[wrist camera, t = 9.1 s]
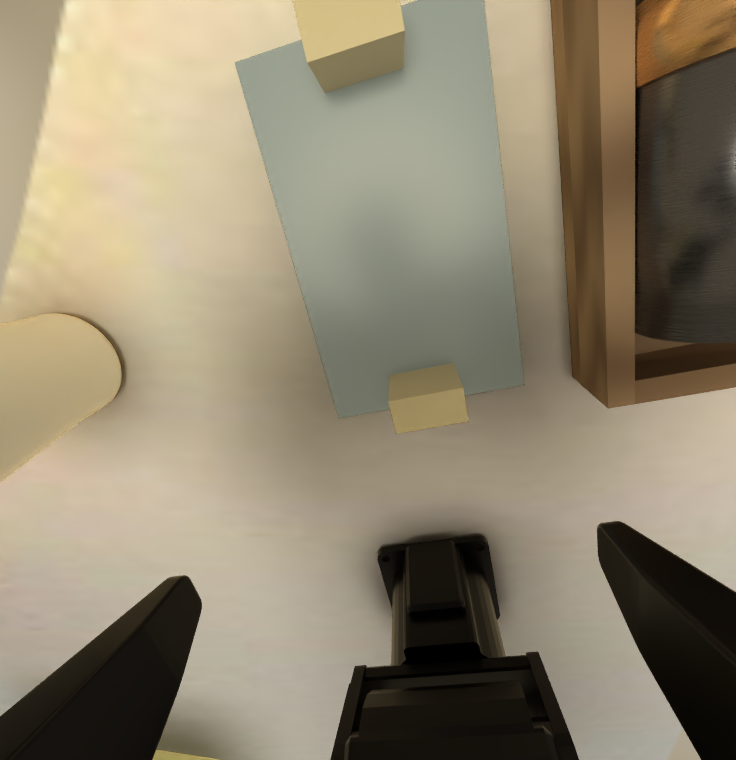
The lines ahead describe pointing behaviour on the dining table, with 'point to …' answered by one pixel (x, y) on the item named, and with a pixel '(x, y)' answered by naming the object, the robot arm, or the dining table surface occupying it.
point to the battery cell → (685, 170)
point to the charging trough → (611, 217)
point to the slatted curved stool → (177, 756)
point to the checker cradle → (393, 201)
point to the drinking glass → (50, 382)
